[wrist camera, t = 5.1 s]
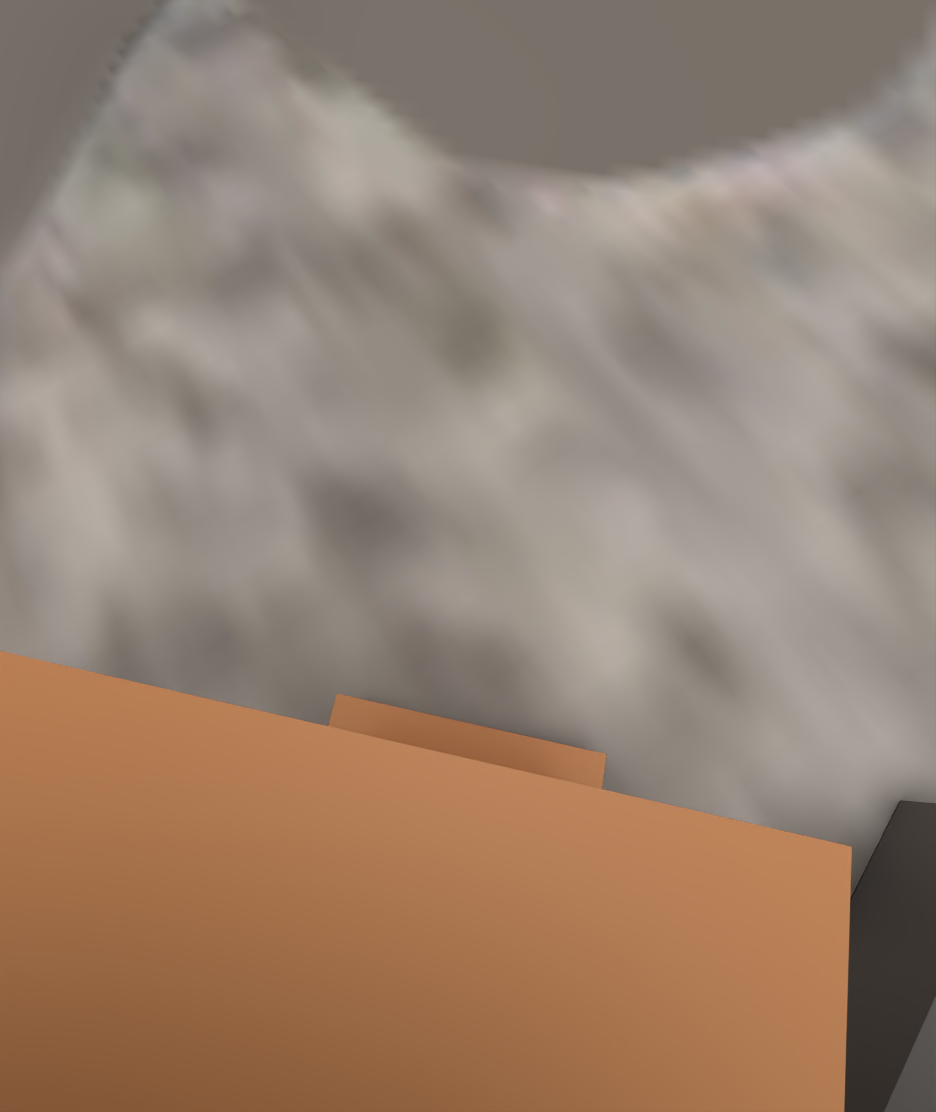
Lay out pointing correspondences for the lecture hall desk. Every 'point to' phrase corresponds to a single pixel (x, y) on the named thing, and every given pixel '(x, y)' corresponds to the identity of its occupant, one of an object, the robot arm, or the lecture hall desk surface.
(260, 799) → the orange post with base
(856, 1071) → the gray square tray
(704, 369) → the lecture hall desk surface
